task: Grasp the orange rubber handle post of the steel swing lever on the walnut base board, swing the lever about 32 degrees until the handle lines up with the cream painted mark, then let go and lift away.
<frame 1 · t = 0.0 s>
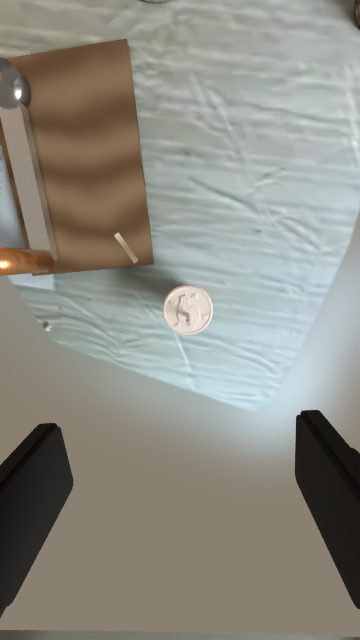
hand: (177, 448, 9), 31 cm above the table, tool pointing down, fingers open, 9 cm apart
smoothie: (188, 298, 40), on the table
lever base: (78, 173, 36), on the table
lever: (0, 164, 29), point 7 cm above the table, hinge at 0.0°
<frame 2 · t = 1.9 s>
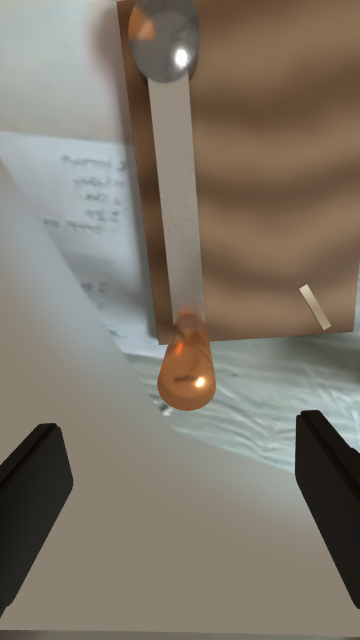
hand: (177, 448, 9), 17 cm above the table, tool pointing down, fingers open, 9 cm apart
lever base: (247, 191, 22), on the table
lever: (174, 183, 16), point 7 cm above the table, hinge at 0.0°
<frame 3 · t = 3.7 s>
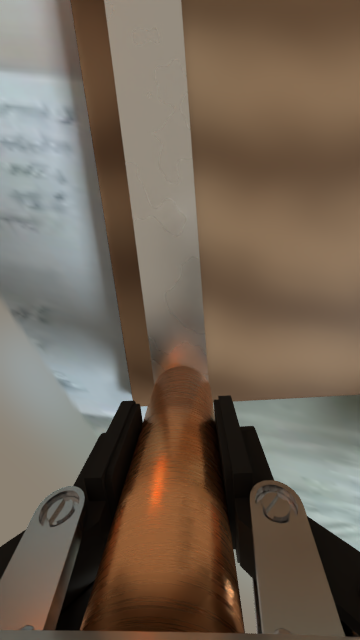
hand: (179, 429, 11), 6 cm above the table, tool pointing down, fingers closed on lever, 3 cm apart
lever base: (278, 159, 13), on the table
lever: (138, 102, 7), point 7 cm above the table, hinge at 0.0°, touching gripper
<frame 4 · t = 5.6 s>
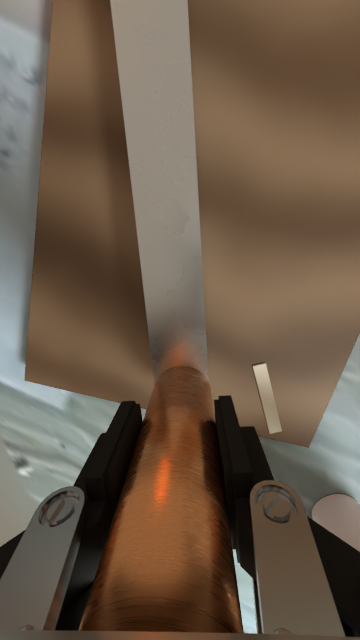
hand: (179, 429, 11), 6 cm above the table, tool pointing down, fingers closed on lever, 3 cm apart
smoothie: (334, 510, 19), on the table
lever base: (221, 194, 14), on the table
lever: (143, 99, 7), point 7 cm above the table, hinge at 17.7°, touching gripper
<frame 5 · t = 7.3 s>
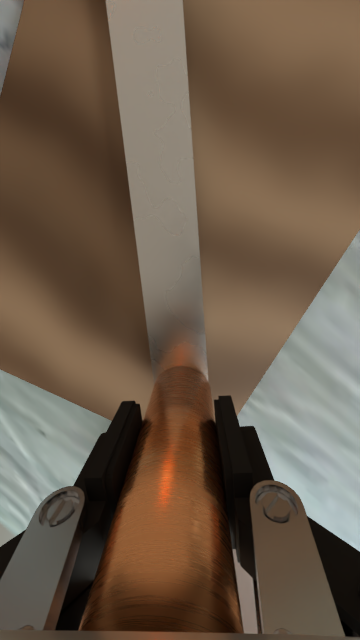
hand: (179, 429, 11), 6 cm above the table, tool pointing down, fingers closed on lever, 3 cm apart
smoothie: (223, 526, 20), on the table
lever base: (169, 206, 14), on the table
lever: (139, 101, 7), point 7 cm above the table, hinge at 31.8°, touching gripper
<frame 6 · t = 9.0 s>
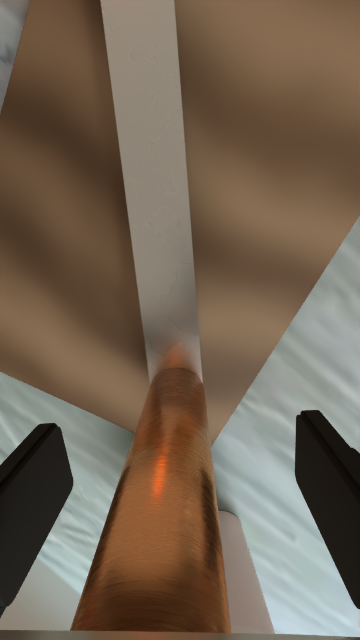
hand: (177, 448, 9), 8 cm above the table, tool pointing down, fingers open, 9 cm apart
smoothie: (219, 525, 20), on the table
lever base: (165, 213, 15), on the table
lever: (134, 120, 7), point 7 cm above the table, hinge at 31.8°
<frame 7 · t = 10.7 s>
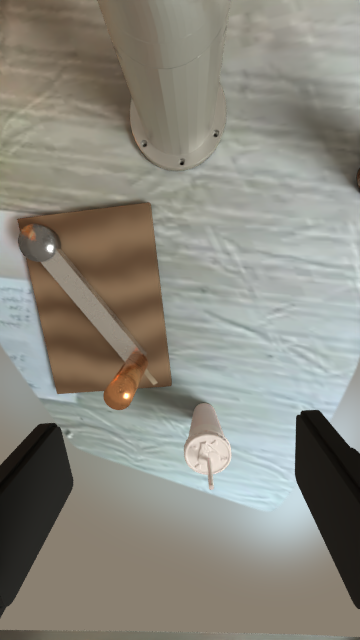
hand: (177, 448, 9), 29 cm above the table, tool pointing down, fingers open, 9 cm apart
smoothie: (204, 411, 42), on the table
lever base: (101, 306, 39), on the table
lever: (73, 307, 31), point 7 cm above the table, hinge at 31.8°
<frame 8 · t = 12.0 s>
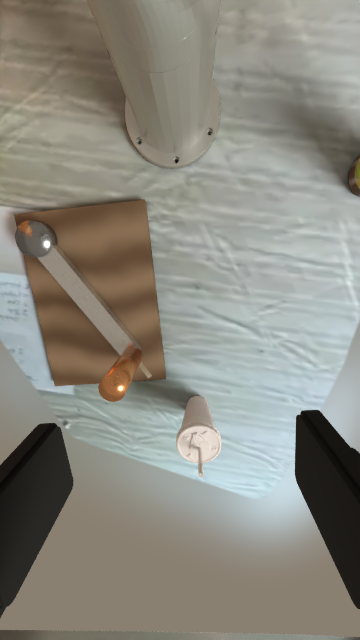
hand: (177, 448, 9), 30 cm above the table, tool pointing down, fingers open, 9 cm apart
smoothie: (197, 404, 43), on the table
lever base: (97, 301, 39), on the table
lever: (70, 303, 32), point 7 cm above the table, hinge at 31.8°
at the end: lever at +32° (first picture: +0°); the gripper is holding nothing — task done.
